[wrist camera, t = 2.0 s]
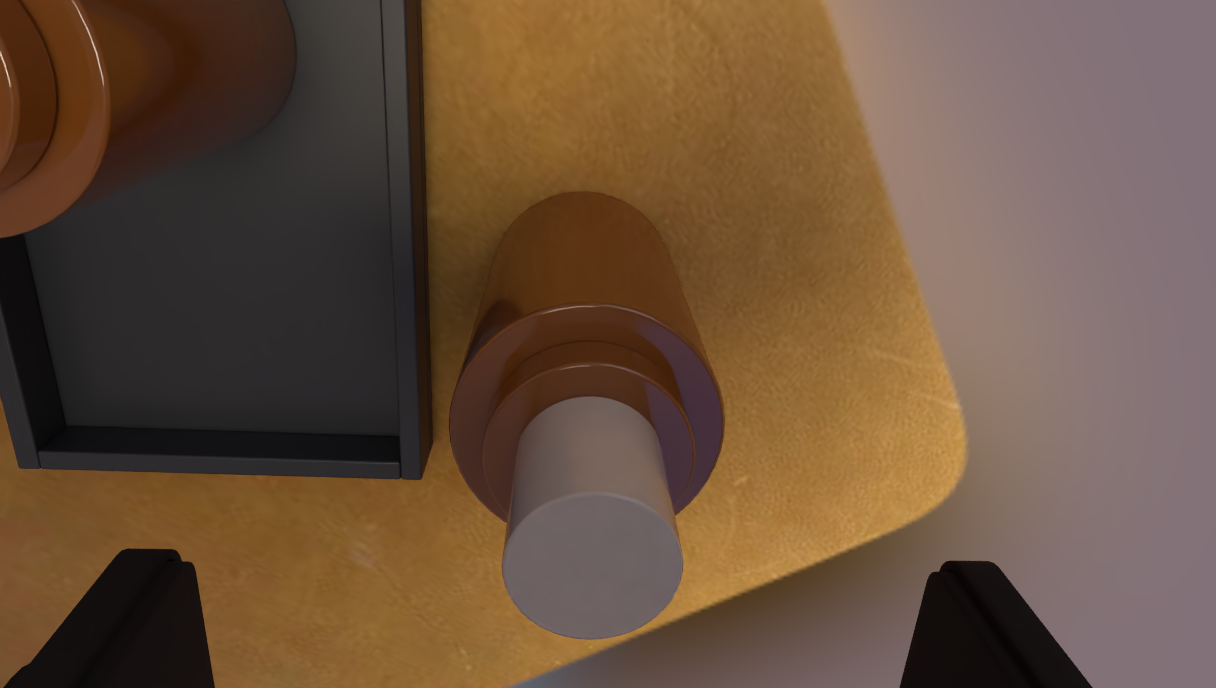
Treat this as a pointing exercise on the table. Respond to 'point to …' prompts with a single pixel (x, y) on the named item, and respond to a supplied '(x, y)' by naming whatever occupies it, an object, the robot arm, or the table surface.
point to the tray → (245, 287)
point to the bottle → (128, 94)
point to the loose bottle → (586, 414)
